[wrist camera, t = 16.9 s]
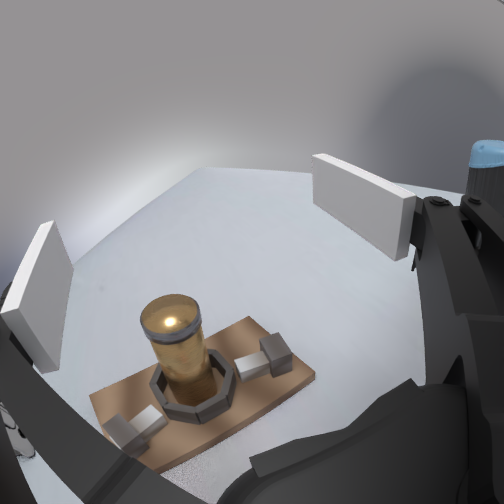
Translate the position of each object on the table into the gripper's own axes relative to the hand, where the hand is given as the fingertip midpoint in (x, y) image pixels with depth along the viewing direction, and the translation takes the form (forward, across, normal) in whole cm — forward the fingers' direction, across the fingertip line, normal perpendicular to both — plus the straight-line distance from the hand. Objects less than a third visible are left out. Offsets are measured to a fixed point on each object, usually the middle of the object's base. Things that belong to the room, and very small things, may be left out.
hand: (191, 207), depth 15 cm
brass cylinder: (+8, -3, -24) cm, 26 cm away
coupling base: (+8, -3, -26) cm, 27 cm away
